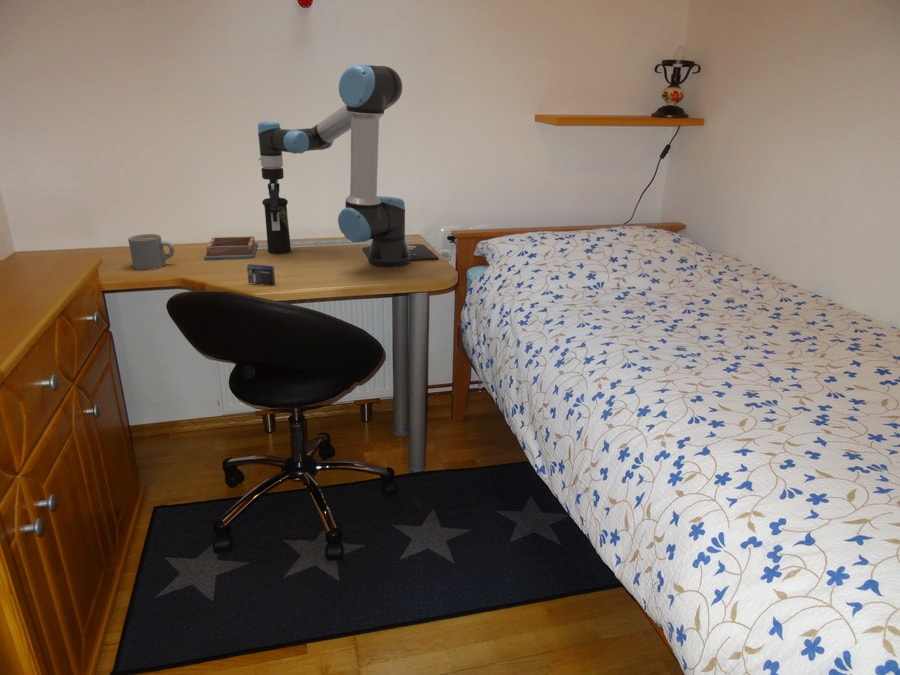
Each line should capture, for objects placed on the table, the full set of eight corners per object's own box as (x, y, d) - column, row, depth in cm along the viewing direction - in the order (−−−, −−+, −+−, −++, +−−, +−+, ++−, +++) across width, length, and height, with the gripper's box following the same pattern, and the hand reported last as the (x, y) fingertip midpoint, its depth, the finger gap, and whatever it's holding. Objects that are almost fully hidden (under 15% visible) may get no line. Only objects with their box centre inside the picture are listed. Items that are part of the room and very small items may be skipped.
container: (288, 254, 229) (283, 200, 221) (264, 254, 229) (258, 199, 221) (294, 249, 237) (290, 196, 229) (270, 248, 237) (266, 195, 229)
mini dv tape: (248, 283, 196) (246, 265, 193) (251, 282, 197) (249, 264, 195) (273, 285, 195) (271, 267, 192) (275, 284, 196) (273, 265, 194)
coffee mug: (128, 270, 206) (123, 240, 203) (140, 262, 216) (135, 233, 212) (169, 270, 208) (165, 240, 204) (179, 262, 217) (175, 233, 213)
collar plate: (254, 258, 223) (253, 247, 221) (204, 260, 219) (203, 249, 218) (257, 245, 241) (256, 235, 239) (211, 246, 237) (210, 236, 236)
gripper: (263, 162, 231) (268, 219, 239) (259, 172, 209) (264, 234, 217) (283, 162, 233) (288, 218, 241) (281, 172, 210) (286, 233, 219)
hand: (276, 226), depth 229 cm, fingers open, 13 cm apart
